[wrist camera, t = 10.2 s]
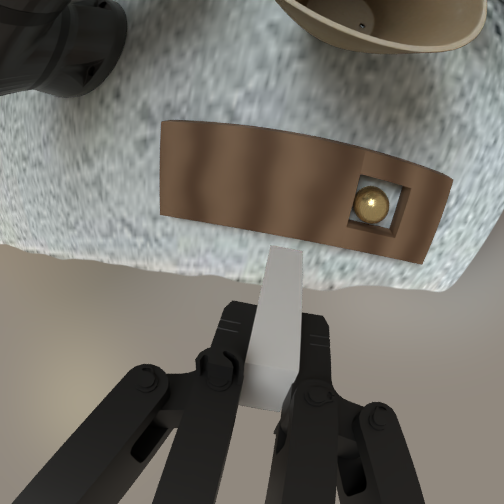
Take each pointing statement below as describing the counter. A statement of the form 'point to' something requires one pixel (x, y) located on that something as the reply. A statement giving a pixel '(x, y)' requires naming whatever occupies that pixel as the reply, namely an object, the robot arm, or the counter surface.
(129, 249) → the counter surface
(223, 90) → the counter surface
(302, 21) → the plant pot
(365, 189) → the brass ball
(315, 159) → the board
